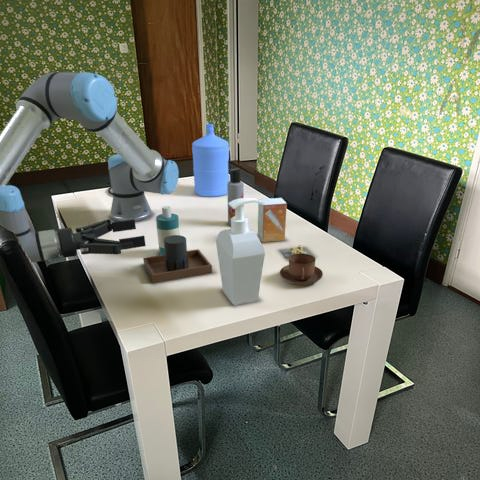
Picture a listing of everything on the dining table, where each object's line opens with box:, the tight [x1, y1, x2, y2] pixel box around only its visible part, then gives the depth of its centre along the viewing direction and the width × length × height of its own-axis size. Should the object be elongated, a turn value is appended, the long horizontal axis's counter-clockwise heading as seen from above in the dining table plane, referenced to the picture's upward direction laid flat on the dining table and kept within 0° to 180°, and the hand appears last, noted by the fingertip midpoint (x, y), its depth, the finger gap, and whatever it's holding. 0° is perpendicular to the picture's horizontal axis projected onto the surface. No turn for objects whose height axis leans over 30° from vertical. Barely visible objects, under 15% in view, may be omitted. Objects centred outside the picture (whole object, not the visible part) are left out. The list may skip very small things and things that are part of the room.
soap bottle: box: [215, 197, 266, 306], centre depth 117 cm, size 12×10×26 cm
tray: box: [142, 248, 213, 284], centre depth 137 cm, size 13×17×2 cm
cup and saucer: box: [279, 253, 324, 285], centre depth 130 cm, size 12×12×6 cm
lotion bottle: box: [226, 167, 244, 227], centre depth 165 cm, size 6×6×20 cm
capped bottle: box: [155, 205, 181, 255], centre depth 144 cm, size 7×7×15 cm
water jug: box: [191, 123, 230, 198], centre depth 198 cm, size 16×16×28 cm
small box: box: [257, 197, 288, 243], centre depth 155 cm, size 8×6×13 cm
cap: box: [164, 234, 189, 271], centre depth 135 cm, size 6×6×9 cm
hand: (139, 232), depth 128 cm, fingers open, 13 cm apart
